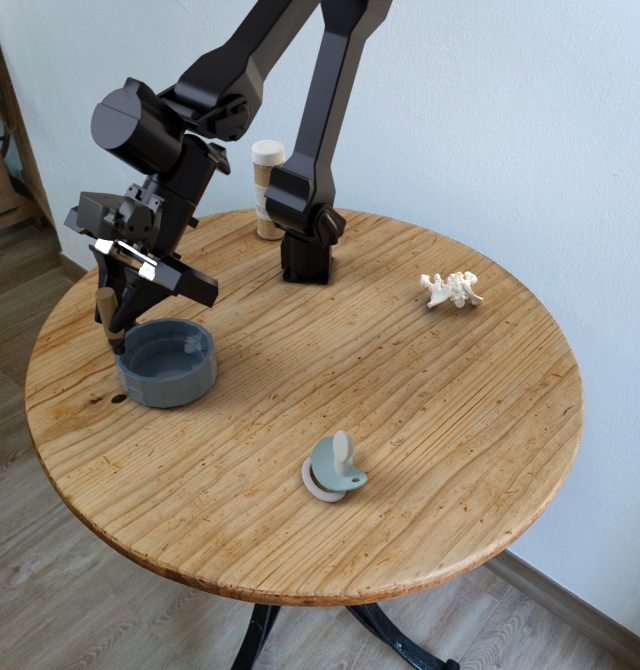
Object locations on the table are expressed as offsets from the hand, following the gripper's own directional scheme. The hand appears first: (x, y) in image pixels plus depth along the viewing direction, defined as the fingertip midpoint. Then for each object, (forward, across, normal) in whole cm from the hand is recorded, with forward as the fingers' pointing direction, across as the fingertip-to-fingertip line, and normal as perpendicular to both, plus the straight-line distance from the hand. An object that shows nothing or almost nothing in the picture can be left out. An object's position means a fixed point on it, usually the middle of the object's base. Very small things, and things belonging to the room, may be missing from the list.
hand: (105, 327), depth 73 cm
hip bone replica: (-22, +19, +35) cm, 46 cm away
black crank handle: (+3, -4, +9) cm, 10 cm away
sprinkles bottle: (-19, -11, +33) cm, 40 cm away
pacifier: (+2, +26, +11) cm, 29 cm away
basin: (+3, +2, +11) cm, 11 cm away
